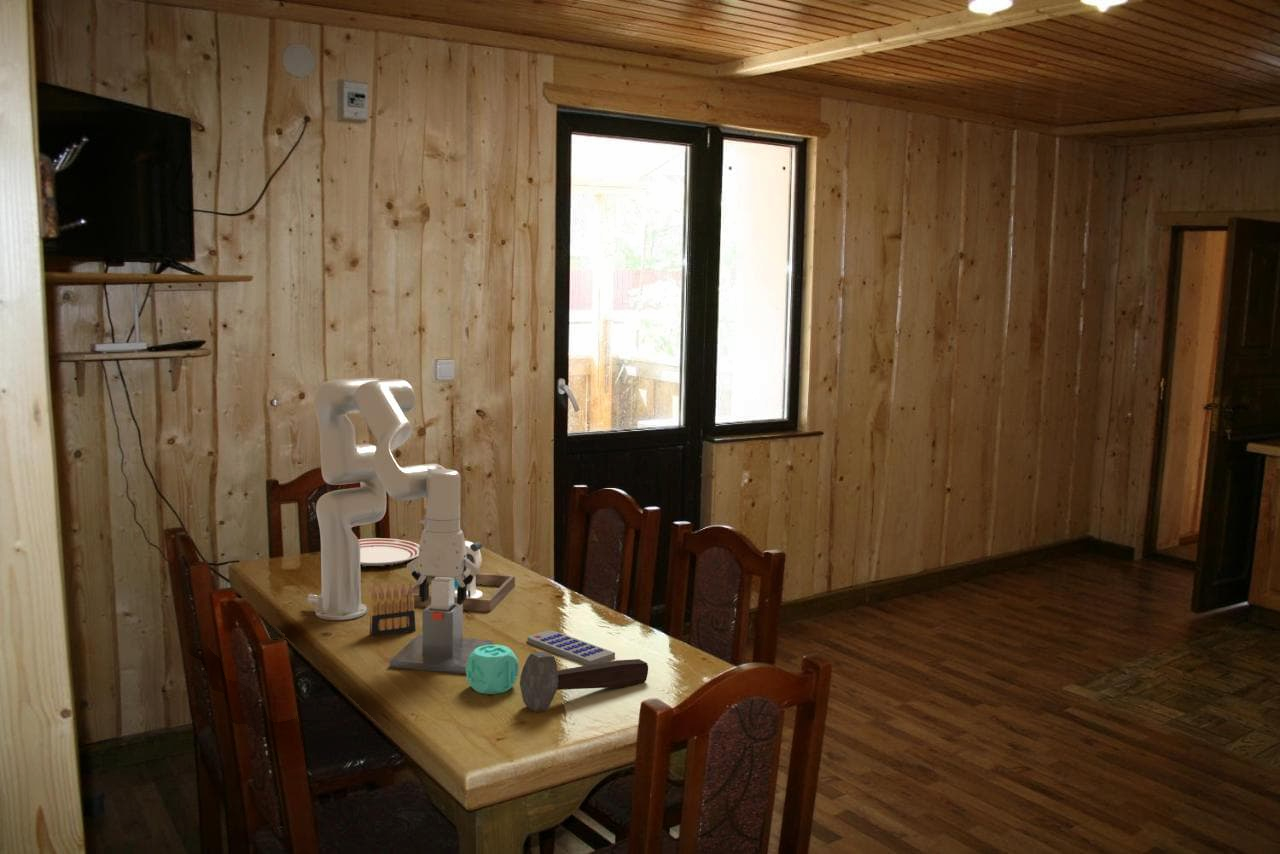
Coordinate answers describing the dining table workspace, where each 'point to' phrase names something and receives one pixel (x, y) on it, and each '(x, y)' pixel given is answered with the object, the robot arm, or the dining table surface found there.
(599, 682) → the hammer
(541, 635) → the remote control
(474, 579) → the panda figurine
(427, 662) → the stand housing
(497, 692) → the decorative dice
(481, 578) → the frame
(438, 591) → the column
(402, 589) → the ammunition clip
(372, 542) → the dinner plate
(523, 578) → the dining table surface
